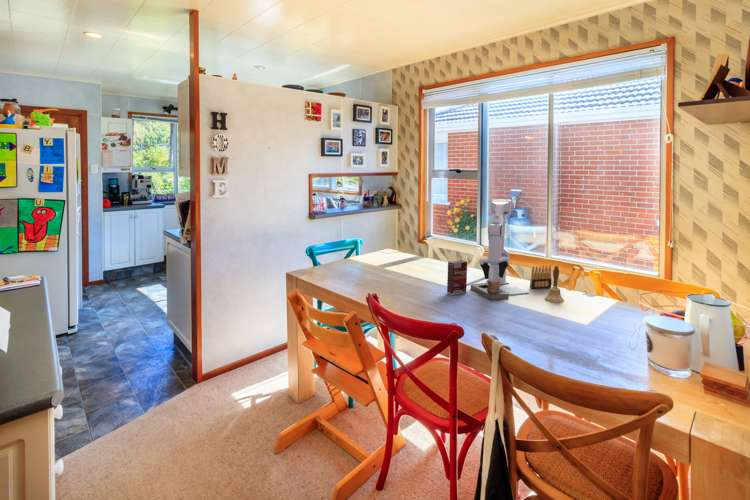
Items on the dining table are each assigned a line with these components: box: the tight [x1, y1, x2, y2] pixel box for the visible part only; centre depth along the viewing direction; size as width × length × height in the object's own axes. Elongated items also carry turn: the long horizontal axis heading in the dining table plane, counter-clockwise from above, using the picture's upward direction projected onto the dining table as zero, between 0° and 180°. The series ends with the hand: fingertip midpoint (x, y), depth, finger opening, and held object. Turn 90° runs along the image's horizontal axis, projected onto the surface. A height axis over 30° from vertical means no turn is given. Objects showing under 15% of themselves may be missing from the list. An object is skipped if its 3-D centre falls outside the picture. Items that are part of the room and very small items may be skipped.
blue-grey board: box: [500, 286, 529, 297], centre depth 206 cm, size 10×10×1 cm
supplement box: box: [446, 259, 468, 296], centre depth 204 cm, size 9×5×16 cm, turn 117°
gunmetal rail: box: [470, 282, 510, 302], centre depth 203 cm, size 20×9×2 cm, turn 15°
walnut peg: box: [487, 279, 501, 293], centre depth 199 cm, size 4×4×8 cm
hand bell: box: [543, 265, 565, 304], centre depth 191 cm, size 8×8×16 cm
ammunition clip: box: [529, 264, 552, 291], centre depth 209 cm, size 11×2×12 cm, turn 98°
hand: (493, 278), depth 198 cm, fingers open, 7 cm apart
